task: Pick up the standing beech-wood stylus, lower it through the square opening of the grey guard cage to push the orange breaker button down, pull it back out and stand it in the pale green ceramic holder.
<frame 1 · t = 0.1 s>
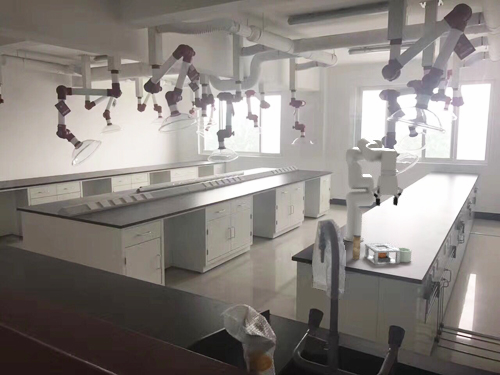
hand: (386, 205, 212), 31 cm above the countertop, tool pointing down, fingers open, 9 cm apart
breaker plunger: (381, 254, 218), point 3 cm above the countertop, slide at 0.0 cm
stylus: (356, 258, 221), on the countertop
holder: (403, 260, 218), on the countertop
breaker guard: (381, 259, 219), on the countertop
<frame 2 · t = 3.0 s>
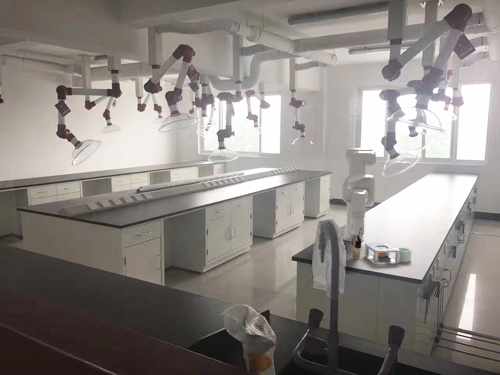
hand: (356, 246, 220), 7 cm above the countertop, tool pointing down, fingers closed on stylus, 3 cm apart
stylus: (356, 258, 221), on the countertop, touching gripper
everything else where it was.
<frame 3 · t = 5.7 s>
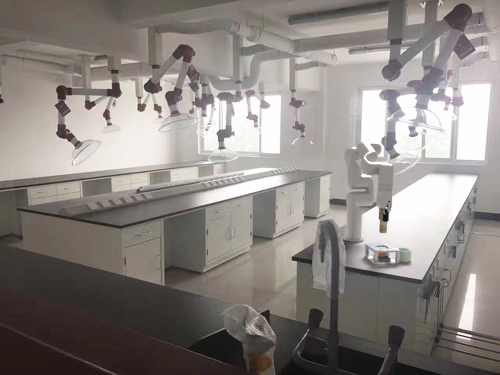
hand: (383, 220, 216), 22 cm above the countertop, tool pointing down, fingers closed on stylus, 3 cm apart
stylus: (382, 232, 217), point 15 cm above the countertop, touching gripper
everything else where it was.
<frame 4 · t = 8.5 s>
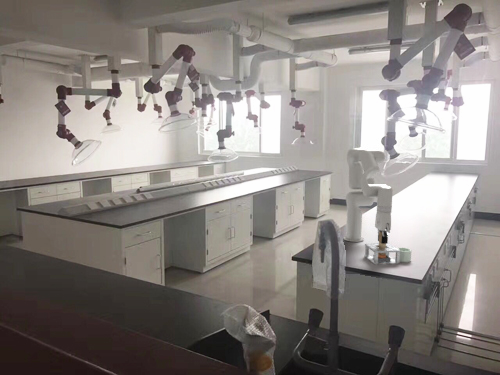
hand: (382, 241, 217), 10 cm above the countertop, tool pointing down, fingers closed on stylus, 3 cm apart
breaker plunger: (381, 256, 219), point 2 cm above the countertop, slide at 1.4 cm, touching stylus
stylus: (381, 253, 218), point 3 cm above the countertop, touching breaker plunger, gripper
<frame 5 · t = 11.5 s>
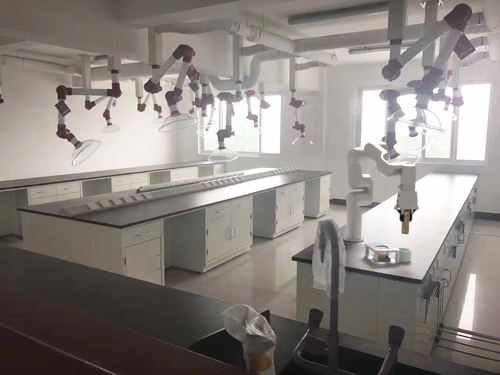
hand: (405, 221, 215), 22 cm above the countertop, tool pointing down, fingers closed on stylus, 3 cm apart
breaker plunger: (381, 256, 219), point 2 cm above the countertop, slide at 1.4 cm
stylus: (405, 233, 216), point 15 cm above the countertop, touching gripper
when the fingers open (9 cm above the countertop, at t = 14.1 s): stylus drops 1 cm, resting on holder.
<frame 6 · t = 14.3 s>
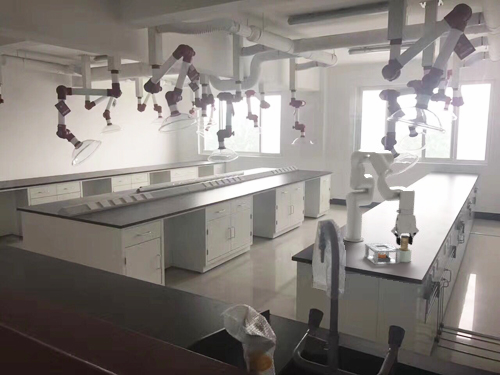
hand: (404, 244, 217), 9 cm above the countertop, tool pointing down, fingers open, 6 cm apart
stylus: (403, 259, 218), point 1 cm above the countertop, touching holder
everything else where it was.
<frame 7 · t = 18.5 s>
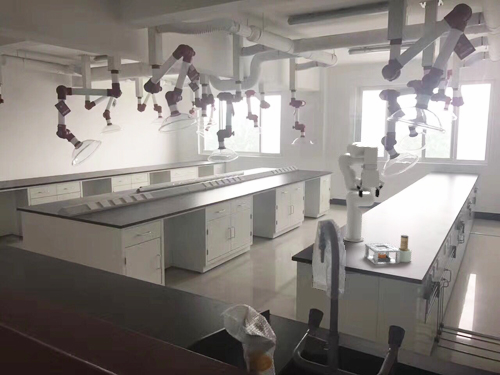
hand: (368, 197, 230), 32 cm above the countertop, tool pointing down, fingers open, 9 cm apart
nothing on the countertop moved.
at the end: breaker plunger slide at 1.4 cm; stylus 0.0 cm off-centre on the holder, point 0.6 cm above the holder's base; the gripper is holding nothing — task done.
